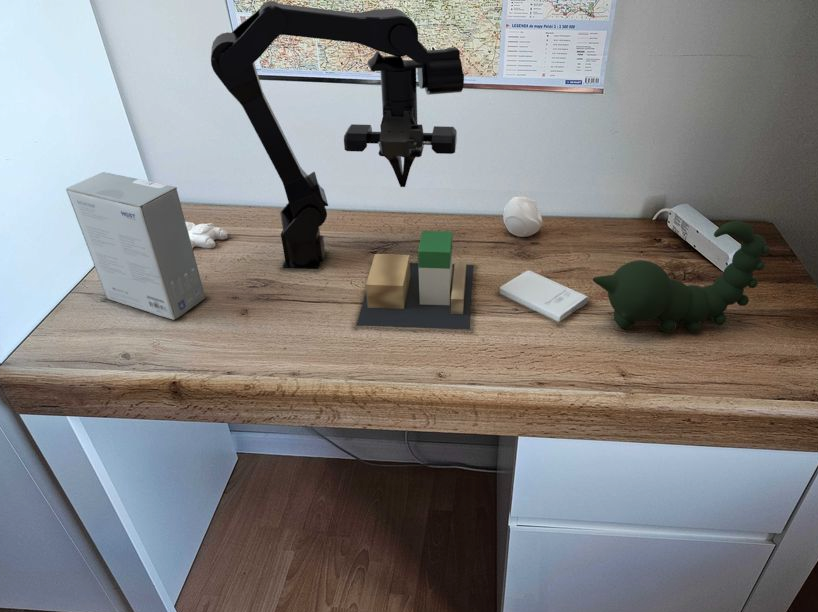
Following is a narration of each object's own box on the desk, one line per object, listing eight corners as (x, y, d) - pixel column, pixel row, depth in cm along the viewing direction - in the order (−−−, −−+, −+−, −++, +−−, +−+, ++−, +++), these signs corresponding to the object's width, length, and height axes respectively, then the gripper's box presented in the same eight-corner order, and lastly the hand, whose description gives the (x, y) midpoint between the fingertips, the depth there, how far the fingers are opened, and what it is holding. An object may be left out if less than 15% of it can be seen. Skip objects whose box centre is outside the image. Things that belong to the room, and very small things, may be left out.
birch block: (367, 307, 110) (365, 284, 107) (376, 276, 118) (374, 253, 115) (404, 309, 109) (402, 285, 107) (410, 277, 117) (409, 254, 114)
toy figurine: (718, 313, 112) (574, 307, 109) (761, 209, 101) (601, 200, 98) (742, 346, 105) (588, 341, 102) (790, 239, 93) (618, 229, 91)
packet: (394, 292, 109) (424, 239, 103) (399, 270, 115) (428, 219, 109) (443, 315, 111) (475, 265, 105) (445, 292, 117) (477, 244, 111)
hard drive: (528, 277, 118) (587, 303, 112) (498, 295, 113) (558, 324, 107) (529, 269, 117) (588, 295, 111) (499, 287, 112) (559, 315, 106)
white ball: (542, 244, 128) (546, 207, 123) (503, 244, 128) (505, 206, 123) (538, 225, 134) (542, 189, 129) (501, 225, 134) (503, 188, 129)
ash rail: (450, 314, 108) (450, 298, 106) (454, 275, 118) (454, 260, 116) (463, 314, 108) (463, 299, 106) (466, 276, 118) (466, 261, 116)
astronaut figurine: (204, 255, 124) (200, 240, 122) (154, 242, 128) (150, 228, 126) (234, 235, 130) (231, 220, 128) (186, 223, 134) (182, 209, 132)
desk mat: (356, 327, 106) (356, 325, 106) (375, 263, 122) (374, 261, 122) (469, 331, 105) (469, 329, 105) (473, 266, 121) (473, 264, 121)
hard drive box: (208, 298, 112) (179, 187, 100) (175, 322, 107) (140, 207, 95) (138, 277, 118) (103, 169, 105) (104, 299, 112) (62, 187, 100)
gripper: (333, 111, 103) (342, 204, 113) (453, 113, 102) (452, 207, 112) (346, 89, 112) (354, 177, 122) (457, 91, 111) (456, 180, 121)
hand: (403, 186), depth 119 cm, fingers closed
